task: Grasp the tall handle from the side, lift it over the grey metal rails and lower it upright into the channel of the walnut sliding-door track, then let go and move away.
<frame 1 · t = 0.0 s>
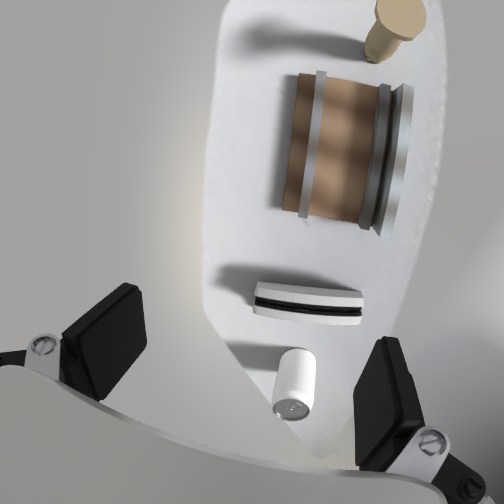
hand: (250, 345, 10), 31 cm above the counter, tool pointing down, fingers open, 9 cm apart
can: (298, 359, 49), on the counter
handle: (374, 54, 29), on the counter
grey curved slotted block: (309, 292, 44), on the counter
track: (343, 149, 35), on the counter
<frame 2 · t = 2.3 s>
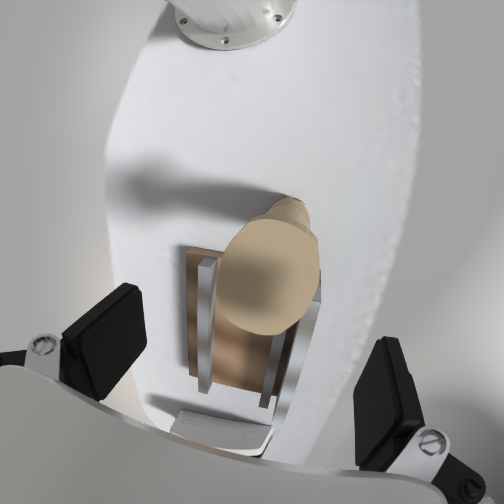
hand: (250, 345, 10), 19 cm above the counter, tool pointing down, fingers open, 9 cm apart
handle: (290, 211, 28), on the counter
grey curved slotted block: (226, 421, 43), on the counter
track: (245, 329, 34), on the counter
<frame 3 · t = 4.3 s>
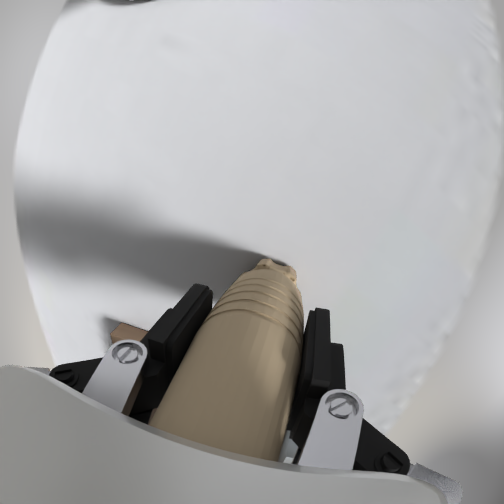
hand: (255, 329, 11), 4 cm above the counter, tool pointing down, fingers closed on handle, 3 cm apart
handle: (271, 283, 15), on the counter, touching gripper
track: (210, 427, 21), on the counter
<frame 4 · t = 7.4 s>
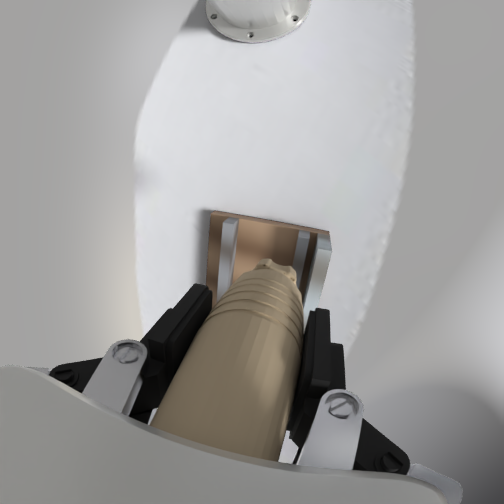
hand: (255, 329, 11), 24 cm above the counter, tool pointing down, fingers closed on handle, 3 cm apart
handle: (271, 283, 15), point 19 cm above the counter, touching gripper
track: (260, 289, 38), on the counter
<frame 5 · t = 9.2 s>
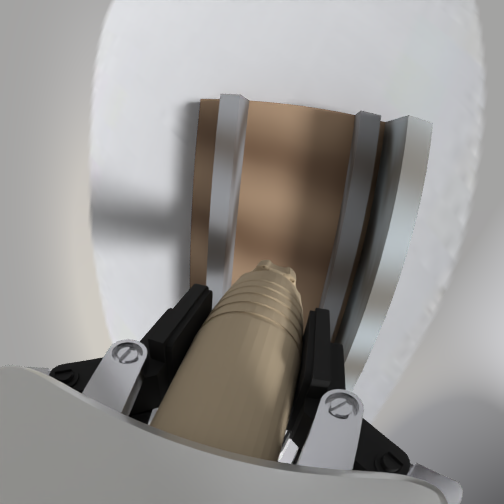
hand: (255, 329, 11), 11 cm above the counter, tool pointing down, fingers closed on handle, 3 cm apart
handle: (271, 284, 15), point 7 cm above the counter, touching gripper
track: (285, 235, 22), on the counter
when the fingers open (7 cm above the counter, at t = 10.3 s): handle drops 1 cm, resting on track.
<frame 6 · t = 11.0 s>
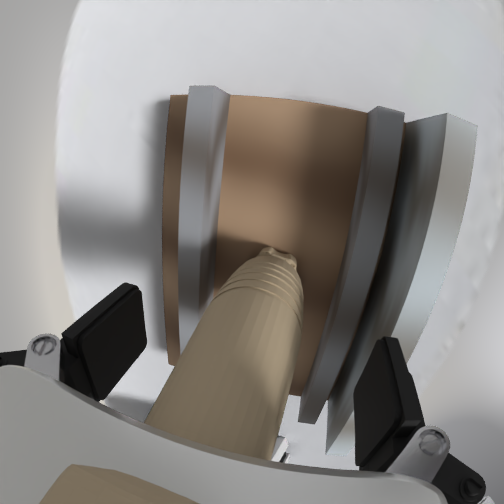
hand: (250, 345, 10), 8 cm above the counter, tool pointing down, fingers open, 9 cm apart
handle: (273, 271, 16), point 1 cm above the counter, touching track
grey curved slotted block: (214, 436, 26), on the counter
track: (277, 265, 17), on the counter
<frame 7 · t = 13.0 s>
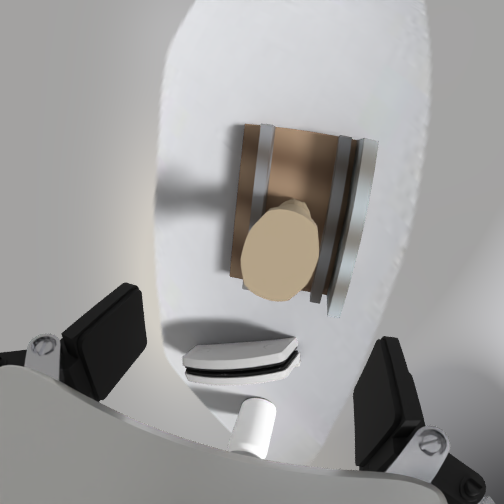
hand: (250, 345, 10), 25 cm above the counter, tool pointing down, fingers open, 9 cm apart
can: (259, 406, 47), on the counter
handle: (295, 211, 33), point 1 cm above the counter, touching track
grey curved slotted block: (245, 346, 43), on the counter
track: (296, 210, 34), on the counter
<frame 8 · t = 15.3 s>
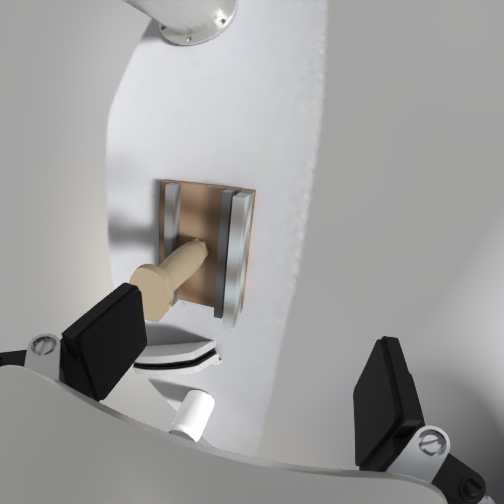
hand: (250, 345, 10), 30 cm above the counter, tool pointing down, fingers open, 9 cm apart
can: (201, 397, 57), on the counter
handle: (200, 247, 42), point 1 cm above the counter, touching track
grey curved slotted block: (180, 347, 53), on the counter
track: (203, 246, 43), on the counter
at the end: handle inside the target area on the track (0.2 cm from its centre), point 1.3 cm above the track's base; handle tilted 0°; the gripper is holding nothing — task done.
